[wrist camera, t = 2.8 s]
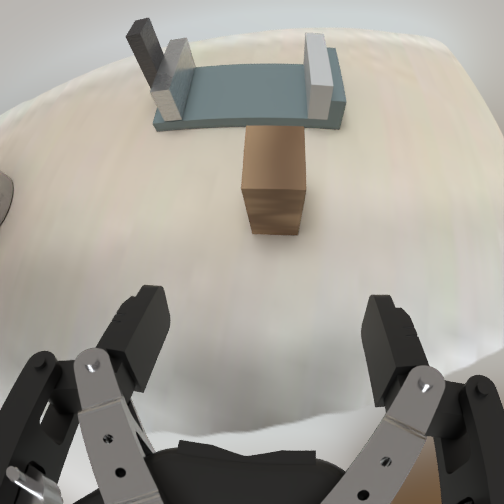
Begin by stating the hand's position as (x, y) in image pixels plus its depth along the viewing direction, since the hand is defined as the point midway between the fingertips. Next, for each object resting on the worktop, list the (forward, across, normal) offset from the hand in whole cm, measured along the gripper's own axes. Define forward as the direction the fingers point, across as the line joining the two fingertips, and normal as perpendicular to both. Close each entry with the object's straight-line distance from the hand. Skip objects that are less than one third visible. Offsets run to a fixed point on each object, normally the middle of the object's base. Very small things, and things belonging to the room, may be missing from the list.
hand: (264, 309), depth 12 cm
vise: (+27, +3, -7) cm, 28 cm away
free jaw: (+26, +12, -8) cm, 30 cm away
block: (+17, 0, +3) cm, 17 cm away
